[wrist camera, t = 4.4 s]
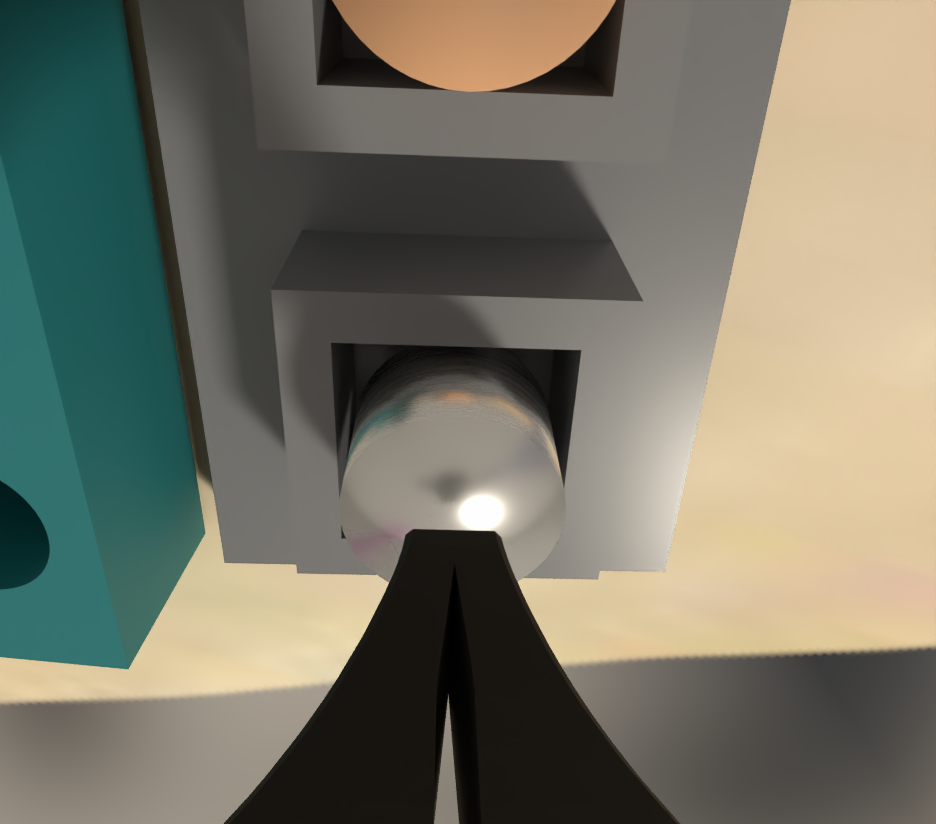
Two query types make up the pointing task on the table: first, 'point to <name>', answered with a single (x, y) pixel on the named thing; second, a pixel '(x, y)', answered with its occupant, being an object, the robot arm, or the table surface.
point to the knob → (452, 456)
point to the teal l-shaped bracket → (84, 350)
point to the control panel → (455, 249)
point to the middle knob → (474, 37)
